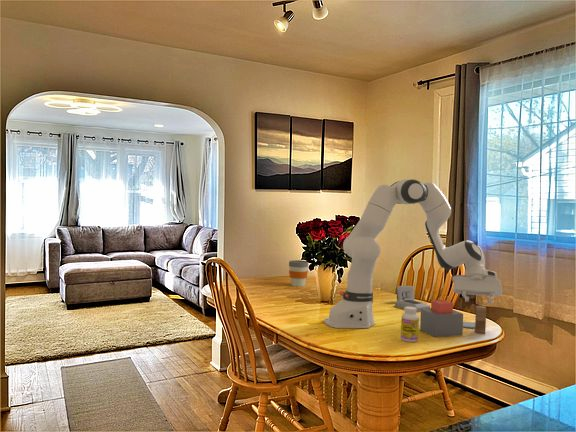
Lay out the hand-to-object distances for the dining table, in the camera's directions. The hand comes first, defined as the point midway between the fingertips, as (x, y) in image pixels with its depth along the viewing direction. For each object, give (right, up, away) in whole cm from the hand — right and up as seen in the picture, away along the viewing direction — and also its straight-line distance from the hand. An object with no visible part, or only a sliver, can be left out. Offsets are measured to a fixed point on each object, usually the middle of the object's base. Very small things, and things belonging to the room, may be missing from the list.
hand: (478, 301), depth 205 cm
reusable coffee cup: (-77, -7, +95) cm, 122 cm away
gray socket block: (-19, -11, -8) cm, 24 cm away
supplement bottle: (-35, -12, -20) cm, 42 cm away
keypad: (-19, -11, +36) cm, 43 cm away
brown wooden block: (-2, -12, -6) cm, 14 cm away
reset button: (-19, -3, -8) cm, 21 cm away
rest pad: (-4, -11, +5) cm, 13 cm away
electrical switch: (-20, -10, +50) cm, 55 cm away
